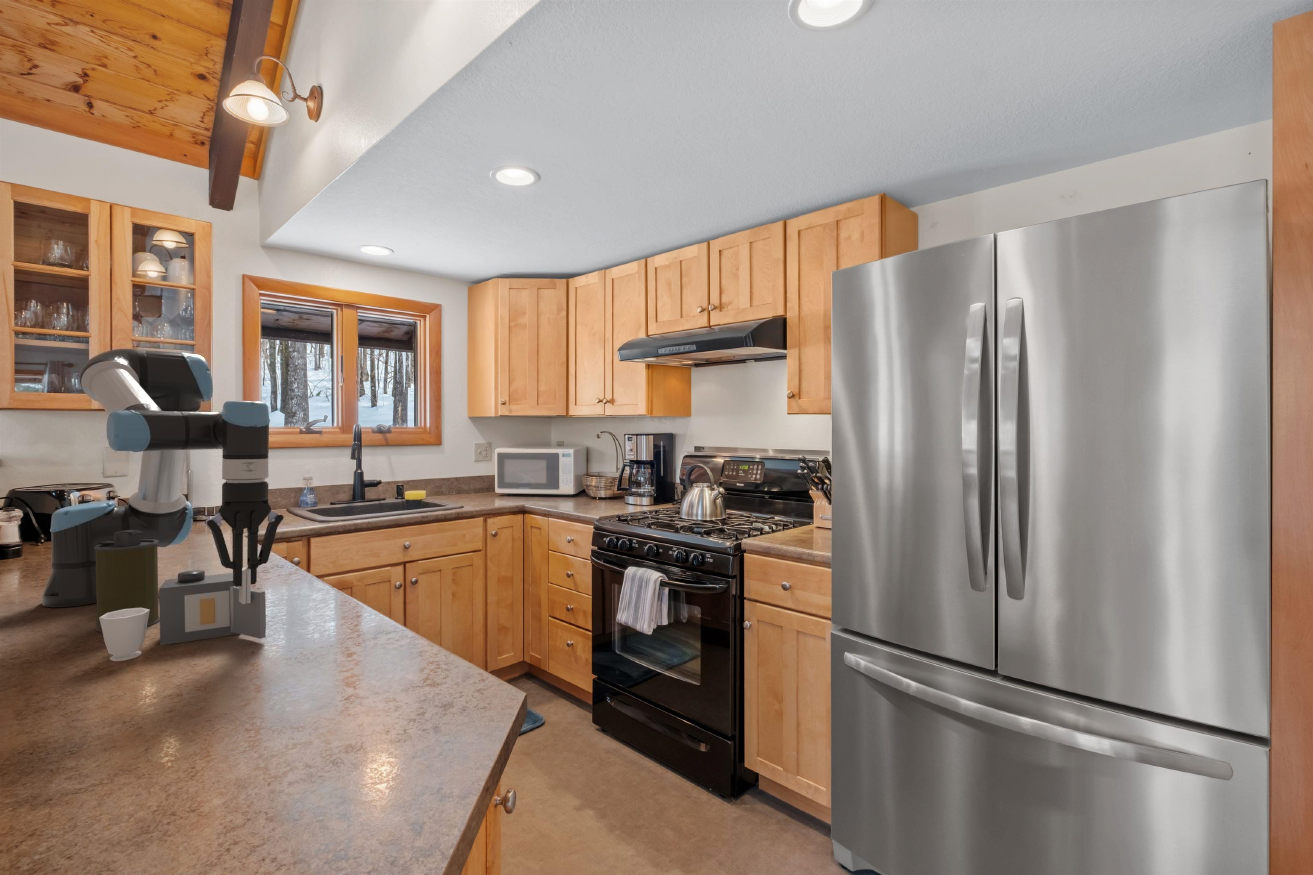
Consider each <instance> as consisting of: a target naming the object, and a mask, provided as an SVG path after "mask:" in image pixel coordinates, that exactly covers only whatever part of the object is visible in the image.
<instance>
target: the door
mask: <svg viewBox="0 0 1313 875" xmlns="http://www.w3.org/2000/svg"><path fill="white" fill-rule="evenodd" d="M266 602H267V600H266V591H265V590H260V589H255V588H251V596H250V603H247V604H242V603H240V602H239V587H235V586H231V587H230V618H231V632H235V633H239V634H238V635H243V636H248V637H252V638H255V639H259V640H261V639H265V638H266V637H267V635H266V634H267V632H266V630H267V624H266V623H267V622H266V621H267V618H266V617H267V616H266V609H267V608H266V607H267V606H266Z"/></svg>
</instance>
